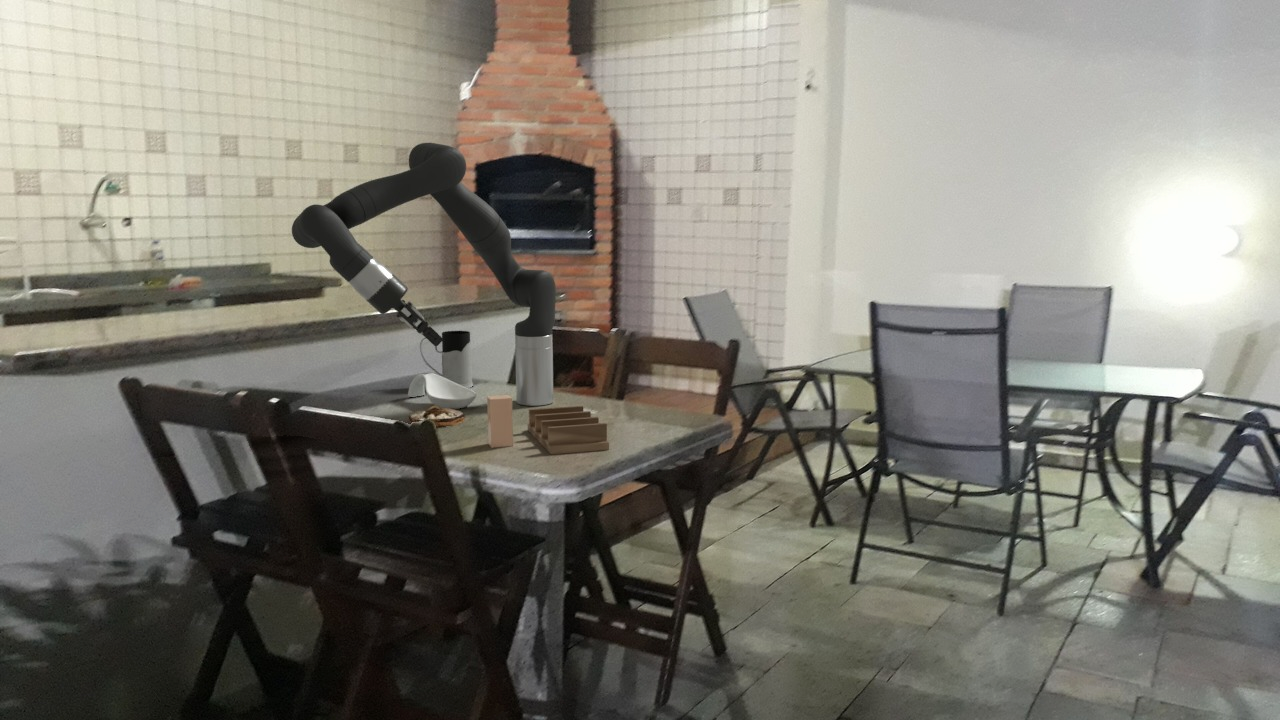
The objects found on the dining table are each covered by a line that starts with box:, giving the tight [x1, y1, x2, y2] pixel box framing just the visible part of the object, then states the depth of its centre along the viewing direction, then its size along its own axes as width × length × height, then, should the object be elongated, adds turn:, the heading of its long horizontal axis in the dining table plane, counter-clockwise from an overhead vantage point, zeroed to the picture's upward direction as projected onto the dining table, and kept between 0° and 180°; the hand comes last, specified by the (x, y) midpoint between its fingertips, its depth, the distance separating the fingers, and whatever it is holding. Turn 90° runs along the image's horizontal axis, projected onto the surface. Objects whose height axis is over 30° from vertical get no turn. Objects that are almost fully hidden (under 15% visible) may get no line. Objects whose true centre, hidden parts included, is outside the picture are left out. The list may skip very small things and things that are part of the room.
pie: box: [408, 405, 466, 429], centre depth 215 cm, size 15×15×4 cm
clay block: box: [486, 394, 514, 449], centre depth 193 cm, size 4×4×10 cm
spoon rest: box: [407, 372, 477, 410], centre depth 234 cm, size 24×12×7 cm, turn 44°
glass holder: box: [419, 330, 474, 388], centre depth 256 cm, size 9×14×15 cm, turn 91°
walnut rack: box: [527, 405, 610, 455], centre depth 198 cm, size 22×12×5 cm, turn 19°
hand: (437, 340), depth 194 cm, fingers open, 8 cm apart
